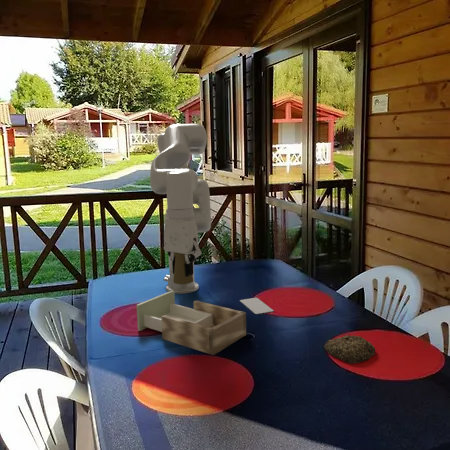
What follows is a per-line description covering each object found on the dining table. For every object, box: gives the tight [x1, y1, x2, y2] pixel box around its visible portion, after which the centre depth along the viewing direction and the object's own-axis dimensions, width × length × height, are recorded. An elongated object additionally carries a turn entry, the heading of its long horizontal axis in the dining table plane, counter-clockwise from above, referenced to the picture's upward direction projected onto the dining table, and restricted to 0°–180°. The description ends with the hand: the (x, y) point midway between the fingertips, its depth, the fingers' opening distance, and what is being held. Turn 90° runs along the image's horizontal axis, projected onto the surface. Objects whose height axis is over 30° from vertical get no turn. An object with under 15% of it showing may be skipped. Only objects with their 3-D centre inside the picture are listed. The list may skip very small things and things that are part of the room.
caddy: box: [161, 300, 247, 356], centre depth 140 cm, size 19×16×7 cm
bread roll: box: [323, 334, 376, 364], centre depth 129 cm, size 13×12×5 cm
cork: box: [173, 252, 193, 284], centre depth 141 cm, size 6×6×11 cm
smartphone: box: [239, 297, 275, 316], centre depth 165 cm, size 7×1×15 cm
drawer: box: [136, 290, 214, 333], centre depth 146 cm, size 18×16×8 cm
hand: (183, 273), depth 142 cm, fingers closed on cork, 4 cm apart
